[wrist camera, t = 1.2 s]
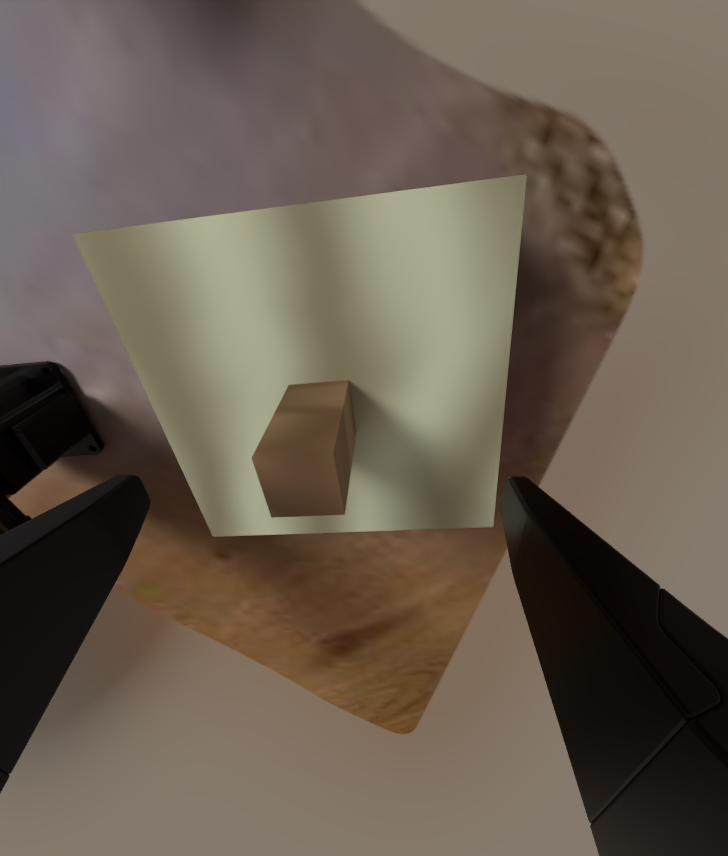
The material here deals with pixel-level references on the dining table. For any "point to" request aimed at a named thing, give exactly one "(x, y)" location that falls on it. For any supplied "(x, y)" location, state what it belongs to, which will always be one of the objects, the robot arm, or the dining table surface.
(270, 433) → the lid
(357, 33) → the dining table surface
